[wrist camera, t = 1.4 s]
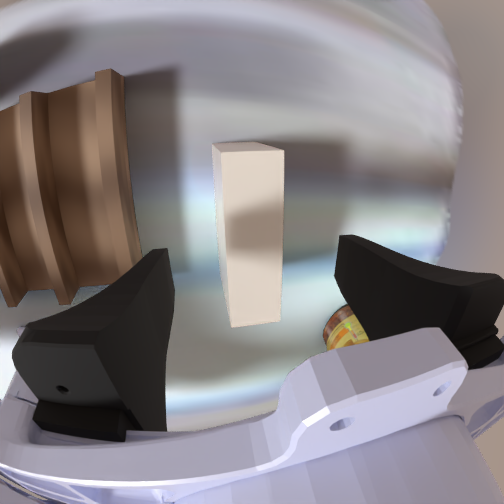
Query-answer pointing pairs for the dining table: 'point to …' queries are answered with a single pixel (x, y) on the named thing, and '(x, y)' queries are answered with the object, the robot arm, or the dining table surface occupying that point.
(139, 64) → the dining table surface
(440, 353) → the robot arm
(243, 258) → the beige rectangular block
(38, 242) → the rack
